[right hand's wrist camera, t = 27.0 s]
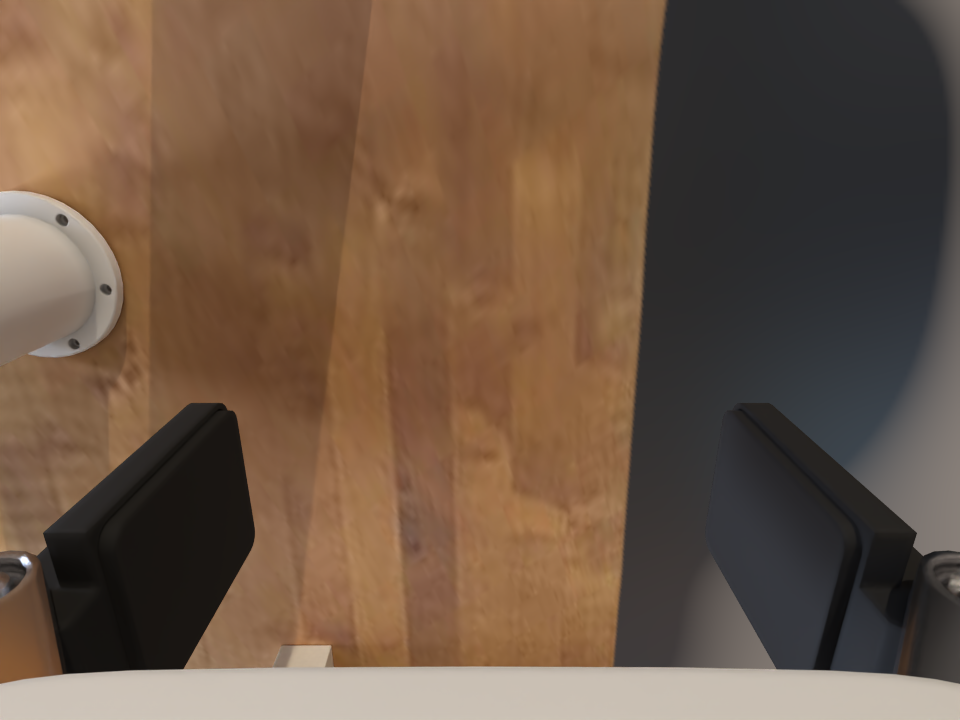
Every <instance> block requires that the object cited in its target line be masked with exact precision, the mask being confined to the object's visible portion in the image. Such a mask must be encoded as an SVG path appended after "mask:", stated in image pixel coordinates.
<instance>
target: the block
mask: <svg viewBox="0 0 960 720" xmlns="http://www.w3.org/2000/svg"><path fill="white" fill-rule="evenodd" d="M290 667H334V665H333V656H332V647H331V645H299V646H281V648H280V650H279V653H278V655H277V658H276V660H275V663H274V665H273V668H290Z"/></svg>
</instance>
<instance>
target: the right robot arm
mask: <svg viewBox="0 0 960 720" xmlns="http://www.w3.org/2000/svg"><path fill="white" fill-rule="evenodd" d="M110 287H111V288H110ZM122 304H123V282H122V277H121V272H120V268H119V266H118V263H117V261H116V259H115V256H114V254H113V252H112V250H111V249H110V247H109V245H108V244H107V242H106V241H105V239H104V238H103V236H102V235H101V234H100V233H99V232H98V231H97V229H96V228H95V227H94V226H93V225H92V224H91V223H90V222H89V221H88V220H86V219H85V218H84V217H83V216H82V215H81V214H80V213H78V212H77V211H75V210H74V209H72V208H70V207H69V206H67V205H66V204H64V203H62V202H60V201H57V200H55V199H53V198H51V197H48V196H45V195H41V194H37V193H33V192H28V191H5V192H0V366H2V365H4V364H7V363H9V362H11V361H13V360H15V359H17V358H20V357H22V356H24V355H26V354H29V355H34V356H38V357H50V358H58V357H66V356H72V355H75V354H78V353H80V352H83V351H85V350H87V349H89V348H91V347H93V346H95V345H97V344H98V343H99V342H100V341H102V340H103V339H104V338H105V337H107V336H108V334H109V333H110V332H111V330H112V329H113V328H114V327H115V325H116V323H117V320H118V318H119V316H120V314H121V309H122ZM43 534H44V538H45V541H46V544H47V547H46V548H45V549H44V550H43V551H42V552H41V553H40V554H39V555H38V556H36V555H33V554H31V553H28V552H26V551H5V552H0V720H960V552H955V551H935V552H932V553H929V554H927V555H924V556H922V555H921V554H920V553H919V552H918V551H917V550H916V549H915V548H914V547H913V544H914V541H915V538H916V534H917V533H916V532H915V531H914V530H913V529H912V528H911V527H910V526H908V525H907V524H906V523H905V522H904V521H903V520H902V519H901V518H899V517H898V516H897V515H896V514H895V513H894V512H893V511H891V510H890V509H889V508H888V507H887V506H886V505H885V504H884V503H882V502H881V501H880V500H879V499H878V498H877V497H876V496H874V495H873V494H872V493H871V492H870V491H869V490H868V489H867V488H865V487H864V486H863V485H862V484H861V483H860V482H859V481H857V480H856V479H855V478H854V477H853V476H852V475H851V474H850V473H848V472H847V471H846V470H845V469H844V468H843V467H842V466H841V465H839V464H838V463H837V462H836V461H835V460H834V459H833V458H832V457H830V456H829V455H828V454H827V453H826V452H825V451H824V450H822V449H821V448H820V447H819V446H818V445H817V444H816V443H815V442H813V441H812V440H811V439H810V438H809V437H808V436H807V435H805V434H804V433H803V432H802V431H801V430H800V429H799V428H798V427H796V426H795V425H794V424H793V423H792V422H791V421H790V420H789V419H787V418H786V417H785V416H784V415H783V414H782V413H781V412H780V411H778V410H777V409H776V408H775V407H774V406H773V405H771V404H769V403H738V404H736V405H735V406H734V408H733V410H732V411H727V412H726V413H725V414H724V417H723V422H722V428H721V434H720V441H719V447H718V453H717V459H716V465H715V472H714V478H713V484H712V490H711V496H710V503H709V509H708V515H707V522H706V528H705V538H706V543H707V546H708V549H709V551H710V552H711V554H712V556H713V558H714V560H715V561H716V563H717V565H718V567H719V568H720V570H721V572H722V574H723V575H724V577H725V579H726V581H727V582H728V584H729V586H730V588H731V589H732V591H733V593H734V595H735V596H736V598H737V600H738V602H739V604H740V605H741V607H742V609H743V611H744V612H745V614H746V616H747V618H748V619H749V621H750V623H751V625H752V626H753V628H754V630H755V632H756V633H757V635H758V637H759V639H760V640H761V642H762V644H763V646H764V648H765V649H766V651H767V653H768V655H769V656H770V658H771V660H772V662H773V663H774V665H775V667H776V669H728V668H669V667H290V668H232V669H184V667H185V665H186V663H187V662H188V660H189V658H190V656H191V655H192V653H193V651H194V649H195V648H196V646H197V644H198V642H199V640H200V639H201V637H202V635H203V633H204V632H205V630H206V628H207V626H208V625H209V623H210V621H211V619H212V618H213V616H214V614H215V612H216V611H217V609H218V607H219V605H220V604H221V602H222V600H223V598H224V596H225V595H226V593H227V591H228V589H229V588H230V586H231V584H232V582H233V581H234V579H235V577H236V575H237V574H238V572H239V570H240V568H241V567H242V565H243V563H244V561H245V560H246V558H247V556H248V554H249V552H250V551H251V549H252V546H253V543H254V538H255V528H254V521H253V515H252V509H251V503H250V497H249V490H248V484H247V478H246V472H245V465H244V459H243V453H242V447H241V440H240V434H239V428H238V422H237V417H236V414H235V412H233V411H228V410H227V408H226V406H225V405H224V404H223V403H191V404H189V405H187V406H186V407H185V408H184V409H183V410H182V411H180V412H179V413H178V414H177V415H176V416H175V417H174V418H173V419H171V420H170V421H169V422H168V423H167V424H166V425H165V426H164V427H162V428H161V429H160V430H159V431H158V432H157V433H156V434H154V435H153V436H152V437H151V438H150V439H149V440H148V441H147V442H145V443H144V444H143V445H142V446H141V447H140V448H139V449H138V450H136V451H135V452H134V453H133V454H132V455H131V456H130V457H128V458H127V459H126V460H125V461H124V462H123V463H122V464H121V465H119V466H118V467H117V468H116V469H115V470H114V471H113V472H112V473H110V474H109V475H108V476H107V477H106V478H105V479H104V480H102V481H101V482H100V483H99V484H98V485H97V486H96V487H95V488H93V489H92V490H91V491H90V492H89V493H88V494H87V495H86V496H84V497H83V498H82V499H81V500H80V501H79V502H78V503H76V504H75V505H74V506H73V507H72V508H71V509H70V510H69V511H67V512H66V513H65V514H64V515H63V516H62V517H61V518H59V519H58V520H57V521H56V522H55V523H54V524H53V525H52V526H50V527H49V528H48V529H47V530H46V531H45V532H44V533H43Z"/></svg>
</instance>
